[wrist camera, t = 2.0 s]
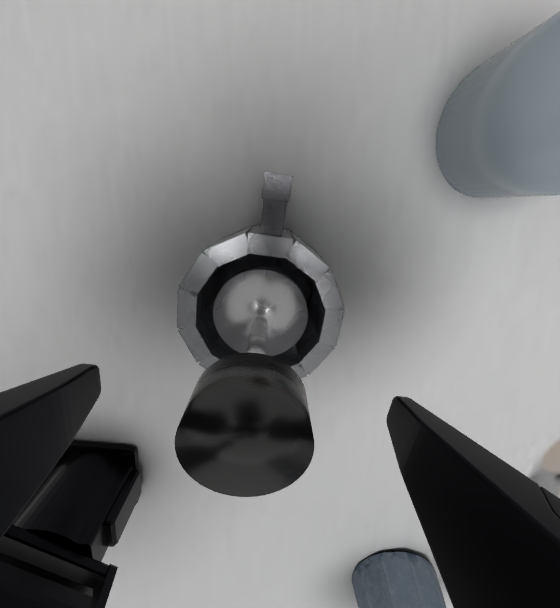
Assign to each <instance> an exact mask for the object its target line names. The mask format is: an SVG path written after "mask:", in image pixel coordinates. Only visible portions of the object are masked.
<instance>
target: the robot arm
mask: <svg viewBox="0 0 560 608" xmlns="http://www.w3.org/2000/svg"><path fill="white" fill-rule="evenodd" d="M100 392H101V383H100V373H99V368H98V366H96V365H92V364H79V365H76V366H73V367H71V368H68V369H65V370H62V371H59V372H57V373H54V374H51V375H48V376H45V377H43V378H40V379H37V380H34V381H31V382H29V383H26V384H23V385H20V386H17V387H15V388H12V389H9V390H6V391H3V392H1V393H0V608H105V605H106V602H107V599H108V596H109V593H110V590H111V587H112V584H113V581H114V577H115V574H116V571H117V568H118V567H117V566H114V565H112V564H110V565H107V564H105V563H102V562H101V561H102V559H103V556H104V554H105V552H106V550H107V548H108V546H110V547H113V546H115V545H116V544H117V543H118V541H119V539H120V537H121V534H122V532H123V530H124V528H125V526H126V524H127V521H128V519H129V517H130V515H131V513H132V511H133V509H134V506H135V504H136V503H137V502H138V500H139V497H140V493H141V475H140V471H139V469H138V456H137V449H136V448H135V447H133V446H127V445H115V444H103V443H92V442H80V441H73V439H74V437H75V436H76V434H77V432H78V431H79V429H80V427H81V426H82V424H83V422H84V421H85V419H86V417H87V416H88V414H89V412H90V411H91V409H92V407H93V406H94V404H95V402H96V401H97V399H98V397H99V395H100ZM387 426H388V430H389V433H390V437H391V440H392V444H393V447H394V451H395V454H396V458H397V461H398V465H399V468H400V471H401V474H402V477H403V479H404V482H405V485H406V487H407V490H408V492H409V495H410V498H411V500H412V503H413V505H414V508H415V510H416V513H417V515H418V518H419V520H420V523H421V526H422V528H423V531H424V533H425V536H426V538H427V541H428V543H429V546H430V549H431V551H432V554H433V556H434V559H435V561H436V564H437V566H438V569H439V571H440V574H441V577H442V579H443V582H444V584H445V587H446V589H447V592H448V594H449V597H450V600H451V602H452V605H453V607H454V608H560V498H558V497H557V496H555V495H554V494H552V493H551V492H549V491H548V490H546V489H545V488H543V487H539V485H538V484H537V483H536V482H534V481H533V480H531V479H530V478H528V477H527V476H525V475H524V474H522V473H521V472H519V471H518V470H516V469H515V468H513V467H512V466H510V465H509V464H507V463H506V462H504V461H503V460H501V459H500V458H498V457H497V456H495V455H494V454H492V453H491V452H489V451H488V450H486V449H485V448H483V447H482V446H480V445H479V444H477V443H476V442H474V441H473V440H471V439H470V438H468V437H467V436H465V435H464V434H462V433H461V432H459V431H458V430H457V429H455V428H454V427H452V426H451V425H449V424H448V423H446V422H445V421H443V420H442V419H440V418H439V417H437V416H436V415H434V414H433V413H431V412H430V411H428V410H427V409H425V408H424V407H422V406H421V405H419V404H418V403H416V402H415V401H413V400H412V399H410V398H408V397H401V396H396V397H394V398H393V400H392V403H391V406H390V409H389V412H388V415H387Z"/></svg>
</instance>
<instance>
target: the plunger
mask: <svg viewBox="0 0 560 608" xmlns="http://www.w3.org/2000/svg"><path fill="white" fill-rule="evenodd" d="M213 318H214V323H215V327H216V329H217V331H218V333H219V335H220V336H221V338H222V339H223V340H224V342H225V343H226V344H228V345H229V346H230V347H231V348H233V349H234V350H236V351H238V352H239V353H238V354H233V355H230V356H227V357H224V358H222V359H220V360H218V361H216V362H215V363H213V364H212V365H211V366H209V367H208V368H207V369H206V370H205V371H204V372H203V374H202V375H201V377H200V378H199V380H198V382H197V384H196V387H195V389H194V391H193V394H192V396H191V398H190V401H189V403H188V405H187V408H186V410H185V412H184V415H183V417H182V419H181V421H180V424H179V426H178V428H177V432H176V435H175V450H176V454H177V458H178V460H179V462H180V464H181V466H182V467H183V469H184V470H185V471H186V472H187V474H188V475H189V476H190V477H192V478H193V479H194V480H195V481H197V482H198V483H199V484H201V485H203V486H204V487H206V488H208V489H210V490H213V491H215V492H218V493H222V494H226V495H230V496H238V497H253V496H261V495H266V494H270V493H273V492H276V491H279V490H281V489H283V488H285V487H287V486H289V485H290V484H292V483H293V482H295V481H296V480H297V479H298V478H299V477H300V476H301V475H302V474H303V473H304V472H305V470H306V469H307V468H308V466H309V464H310V462H311V459H312V456H313V452H314V438H313V432H312V426H311V421H310V415H309V409H308V403H307V397H306V392H305V388H304V385H303V383H302V381H301V379H300V377H299V376H298V375H297V373H296V372H295V371H294V370H293V369H292V368H291V367H290V366H288V365H287V364H286V363H284V362H283V361H281V360H279V359H277V358H274V357H272V356H275V355H278V354H281V353H283V352H285V351H286V350H288V349H290V348H291V347H292V346H293V345H294V344H295V343H297V341H298V340H299V339H300V338H301V336H302V334H303V333H304V330H305V328H306V324H307V319H308V309H307V304H306V301H305V298H304V295H303V293H302V291H301V289H300V288H299V286H298V285H297V284H296V283H295V282H294V281H293V280H292V279H291V278H290V277H288V276H287V275H285V274H284V273H281V272H279V271H277V270H274V269H269V268H251V269H247V270H244V271H241V272H239V273H237V274H235V275H234V276H232V277H231V278H230V279H229V280H228V281H227V282H226V283H225V284H224V285H223V287H222V288H221V290H220V291H219V293H218V295H217V297H216V299H215V303H214V308H213Z"/></svg>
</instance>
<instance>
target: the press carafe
mask: <svg viewBox="0 0 560 608" xmlns="http://www.w3.org/2000/svg"><path fill="white" fill-rule="evenodd" d="M292 178H293V176H289V175H283V174H276V173H270V172H264V181H263V190H262V198H264V204H263V213H262V222H261V226H258V225H255V226H254V227H253V226H251V227H248V228H246V229H244V230H241V231H239V232H237V233H234V234H232V235H229V236H227V237H225V238H223V239H221V240H220V241H218V242H217V243H215V244H214V245H212V246H210V247H209V248H207V249H206V250H204V251H203V252H202V253H201V254H200V256H199V257H198V259H197V260H196V262H195V263H194V265H193V266H192V267H191V269H190V270H189V272H188V273H187V275H186V276H185V278H184V279H183V281H182V282H181V284H180V285H179V287H180V288H179V289H178V306H177V328H180V329H179V330H178V331H179V333H180V335H181V336H182V338H183V340H184V341H185V343H186V345H187V346H188V348H189V350H190V351H191V353H192V355H193V356H194V358H195V360H196V362H199V361H201V362H200V364H199V365H201V366H202V367H204V368H206V369H207V368H208V367H209V366H211V365H212V364H213V363H215V362H216V361H218V360H220V359H222V358H224V357H227V356H230V355H233V354H238V353H239V352H238V351H236V350H234V349H233V348H231V347H230V346H229V345H228V344H226V343H225V342H224V340H223V339H222V338H221V336H220V335H219V333H218V331H217V329H216V327H215V323H214V318H213V308H214V303H215V299H216V297H217V295H218V293H219V291H220V290H221V288H222V287H223V285H224V284H225V283H226V282H227V281H228V280H229V279H230V278H231V277H232V276H234V275H235V274H237V273H239V272H241V271H244V270H247V269H251V268H269V269H274V270H277V271H279V272H281V273H284V274H285V275H287V276H288V277H290V278H291V279H292V280H293V281H294V282H295V283H296V284H297V285H298V286H299V288H300V289H301V291H302V293H303V295H304V298H305V301H306V304H307V309H308V319H307V324H306V328H305V330H304V333H303V334H302V336H301V338H300V339H299V340H298V341H297V343H295V344H294V345H293V346H292V347H291V348H290V349H288V350H286V351H285V352H283V353H281V354H278V355H275V356H272V357H274V358H277V359H279V360H281V361H283V362H284V363H286V364H287V365H288V366H290V367H291V368H292V369H293V370H294V371H295V372H296V373H297V375H298V376H299V377H300V378H303V377H306V376H307V373H308V374H311V373H312V372H313V371H314V369H315V368H316V367H317V366H318V365H319V364H320V363H321V362H322V361H323V360H324V359H325V358H326V357H327V356H328V355H329V354H330V353H331V352H332V351H333V349H334V346H336V343H337V339H338V335H339V331H340V326H341V322H342V318H343V314H344V309H343V308H344V305H343V302H342V299H341V296H340V293H339V291H338V288H337V285H336V282H335V279H334V276H333V273H332V270H331V269H330V267H329V266H328V265H327V264H326V263H325V262H324V261H323V260H322V259H321V257H320V256H319V255H318V254H317V253H316V252H315V251H314V250H313V249H312V248H310V247H309V246H308V245H307V244H306V243H304V242H303V241H302V240H301V239H299V238H298V237H297V236H296V235H295V234H293V233H292V232H291V231H290V232H289V231H288V230H286V229H283V224H284V217H285V210H286V203H287V202H288V201H289V199H290V192H291V185H292ZM306 372H307V373H306Z"/></svg>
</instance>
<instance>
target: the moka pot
mask: <svg viewBox="0 0 560 608" xmlns="http://www.w3.org/2000/svg"><path fill="white" fill-rule="evenodd" d="M352 583H353V587H354V591H355V595H356V599H357V603H358V607H359V608H446V605H445V602H444V598H443V594H442V591H441V588H440V585H439V581H438V578H437V574H436V572H435V570H434V568H433V566H432V564H431V563H429V562H428V561H427V560H426V559H424V558H423V557H420V556H418V555H415V554H412V553H408V552H383V553H380V554H375V555H373V556H370V557H369V558H366V559H365V560H363V561H362V562H360V563H359V564H358V566H357V567H356V568H355V570H354V573H353V578H352Z"/></svg>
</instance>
